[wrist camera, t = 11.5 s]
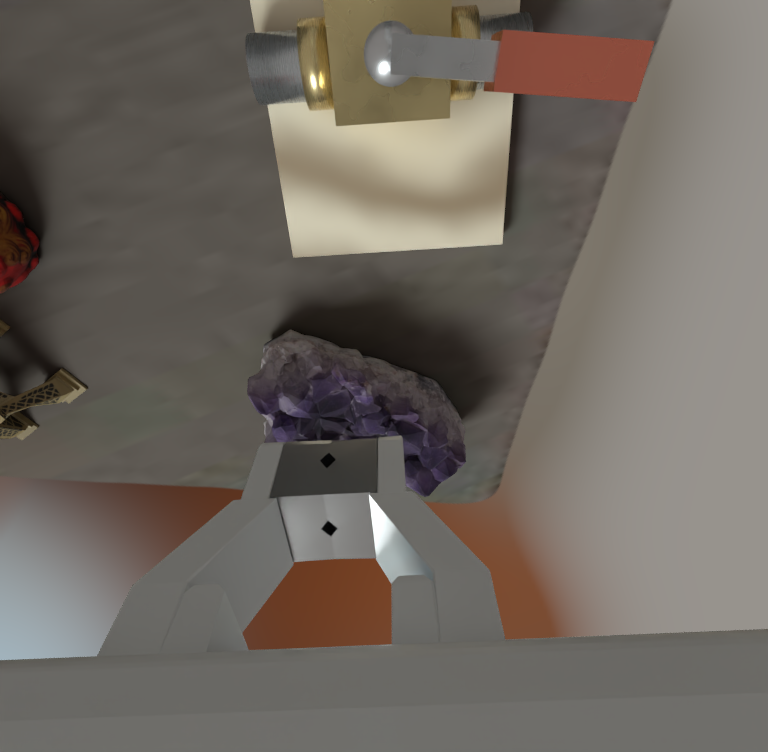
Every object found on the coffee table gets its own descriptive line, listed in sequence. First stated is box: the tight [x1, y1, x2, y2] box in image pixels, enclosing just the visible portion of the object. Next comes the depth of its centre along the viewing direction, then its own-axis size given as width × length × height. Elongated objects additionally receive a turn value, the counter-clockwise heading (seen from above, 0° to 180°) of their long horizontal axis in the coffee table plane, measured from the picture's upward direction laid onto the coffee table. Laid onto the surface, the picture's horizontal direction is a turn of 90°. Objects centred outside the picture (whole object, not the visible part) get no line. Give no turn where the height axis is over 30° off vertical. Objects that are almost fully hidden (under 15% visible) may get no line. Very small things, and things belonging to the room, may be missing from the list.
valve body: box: [246, 0, 533, 126], centre depth 27 cm, size 6×16×6 cm, turn 94°
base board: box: [250, 0, 520, 258], centre depth 30 cm, size 24×16×2 cm, turn 4°
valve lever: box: [364, 20, 654, 102], centre depth 23 cm, size 13×3×3 cm, turn 87°
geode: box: [247, 330, 466, 497], centre depth 41 cm, size 20×12×10 cm, turn 72°
